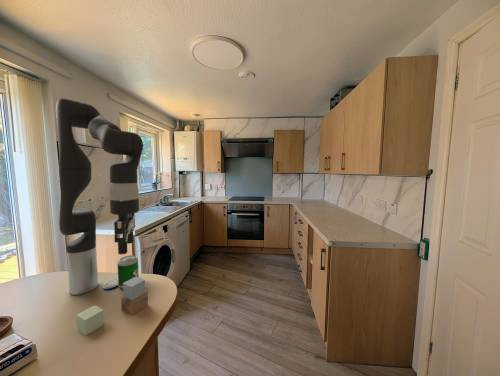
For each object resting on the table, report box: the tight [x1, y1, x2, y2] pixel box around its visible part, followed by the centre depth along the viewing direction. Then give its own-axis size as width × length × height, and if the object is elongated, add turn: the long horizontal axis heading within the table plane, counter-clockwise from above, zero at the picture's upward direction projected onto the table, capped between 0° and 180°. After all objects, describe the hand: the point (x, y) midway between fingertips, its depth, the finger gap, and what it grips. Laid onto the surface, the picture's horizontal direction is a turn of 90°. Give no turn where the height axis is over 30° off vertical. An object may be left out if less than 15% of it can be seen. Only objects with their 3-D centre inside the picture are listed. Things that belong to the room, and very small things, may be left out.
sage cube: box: [75, 305, 105, 336], centre depth 62 cm, size 5×5×5 cm
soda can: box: [117, 255, 140, 289], centre depth 85 cm, size 8×8×12 cm
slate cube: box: [122, 276, 147, 301], centre depth 71 cm, size 5×5×5 cm
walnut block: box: [120, 291, 149, 316], centre depth 71 cm, size 6×6×5 cm
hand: (126, 248), depth 62 cm, fingers open, 8 cm apart
